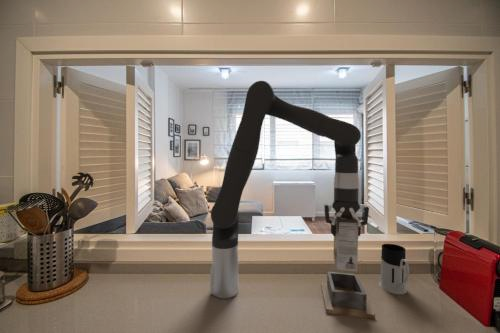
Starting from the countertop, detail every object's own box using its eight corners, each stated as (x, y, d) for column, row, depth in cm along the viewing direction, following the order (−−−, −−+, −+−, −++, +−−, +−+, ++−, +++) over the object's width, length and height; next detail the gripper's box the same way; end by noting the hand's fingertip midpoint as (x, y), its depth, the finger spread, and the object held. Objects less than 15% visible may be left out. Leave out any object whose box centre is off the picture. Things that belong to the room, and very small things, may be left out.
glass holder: (398, 281, 91) (399, 243, 91) (421, 304, 77) (422, 259, 77) (375, 280, 92) (375, 242, 92) (393, 303, 78) (394, 258, 78)
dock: (325, 312, 73) (326, 293, 73) (321, 285, 89) (321, 269, 89) (374, 318, 70) (375, 298, 70) (361, 289, 86) (361, 272, 86)
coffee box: (332, 258, 84) (333, 213, 84) (351, 259, 83) (352, 214, 83) (336, 270, 75) (337, 220, 75) (358, 272, 74) (359, 221, 74)
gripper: (324, 187, 76) (324, 238, 77) (373, 188, 73) (372, 241, 74) (322, 184, 83) (321, 231, 84) (366, 185, 81) (365, 234, 81)
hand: (345, 236), depth 79 cm, fingers closed on coffee box, 6 cm apart
